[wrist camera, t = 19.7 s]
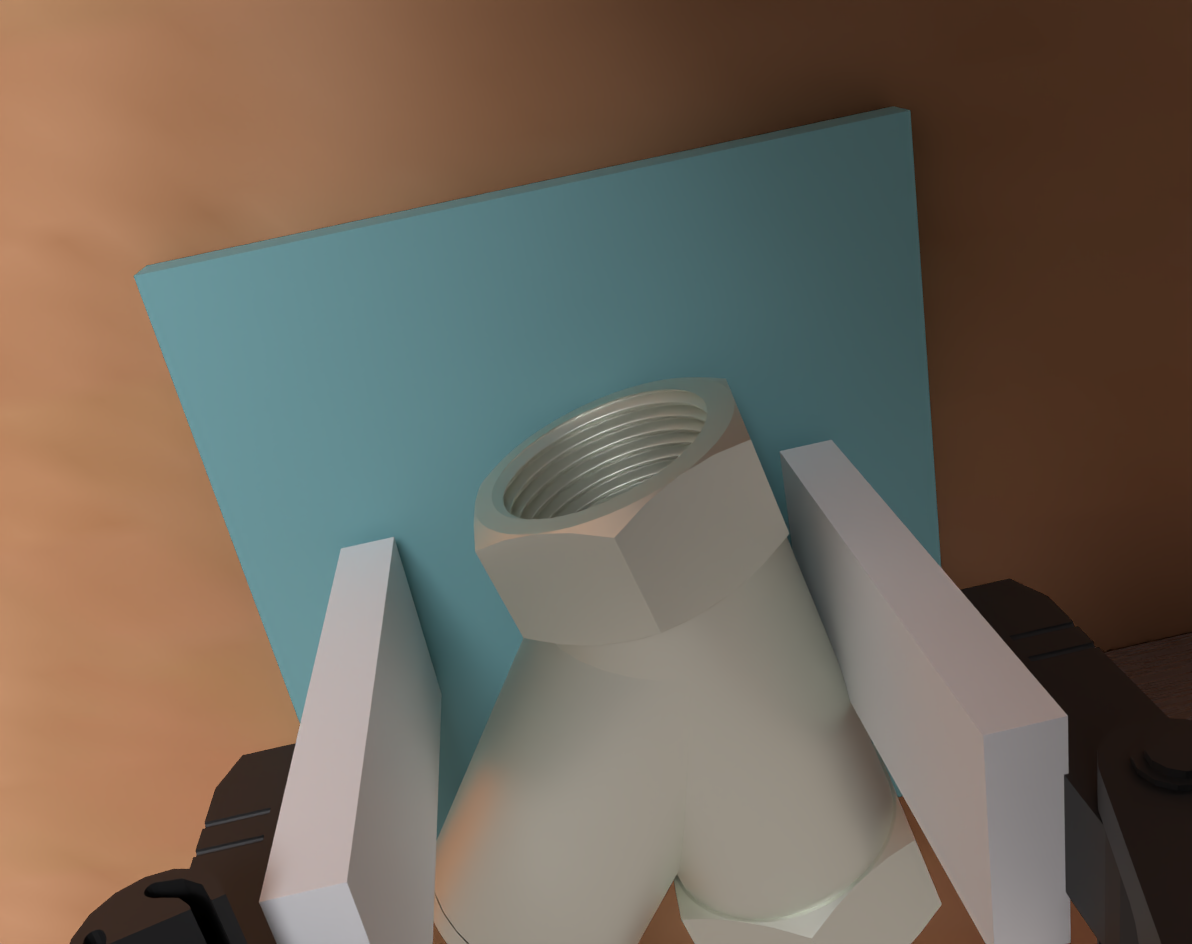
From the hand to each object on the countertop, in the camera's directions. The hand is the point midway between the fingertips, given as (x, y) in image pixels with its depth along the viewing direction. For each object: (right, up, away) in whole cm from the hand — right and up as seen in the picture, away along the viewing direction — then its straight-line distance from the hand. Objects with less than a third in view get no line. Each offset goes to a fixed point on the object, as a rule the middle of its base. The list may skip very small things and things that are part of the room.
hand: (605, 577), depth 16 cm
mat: (0, 0, +1) cm, 1 cm away
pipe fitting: (0, -1, +1) cm, 2 cm away
